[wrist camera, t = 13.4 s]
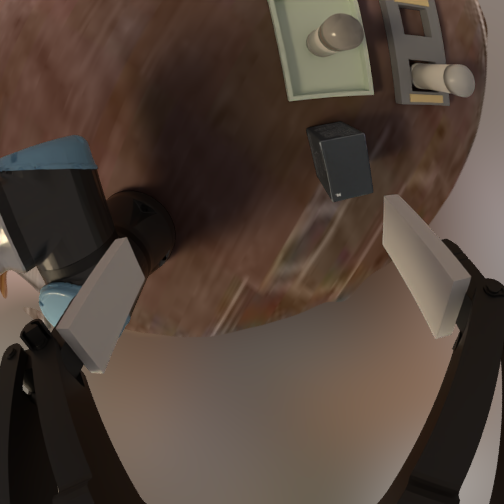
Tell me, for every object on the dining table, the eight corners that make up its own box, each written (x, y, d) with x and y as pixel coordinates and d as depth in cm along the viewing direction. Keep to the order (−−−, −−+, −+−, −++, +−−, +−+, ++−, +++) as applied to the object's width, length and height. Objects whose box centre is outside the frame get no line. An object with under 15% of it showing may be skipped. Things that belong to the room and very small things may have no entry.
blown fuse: (308, 58, 33) (328, 50, 23) (303, 31, 31) (320, 13, 21) (338, 56, 33) (367, 49, 23) (332, 29, 31) (359, 13, 21)
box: (351, 168, 43) (374, 194, 34) (316, 176, 44) (331, 203, 35) (341, 119, 39) (365, 132, 30) (304, 127, 40) (318, 141, 31)
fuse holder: (442, 103, 35) (450, 106, 33) (395, 102, 36) (402, 104, 34) (427, 1, 26) (435, -1, 24) (377, -6, 27) (383, -9, 25)
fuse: (407, 87, 35) (451, 95, 25) (404, 62, 32) (448, 62, 22) (429, 89, 34) (475, 98, 24) (427, 64, 32) (473, 67, 22)
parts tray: (368, 93, 36) (374, 94, 34) (287, 100, 37) (289, 101, 35) (350, -5, 28) (355, -9, 25) (267, -1, 29) (267, -6, 27)
